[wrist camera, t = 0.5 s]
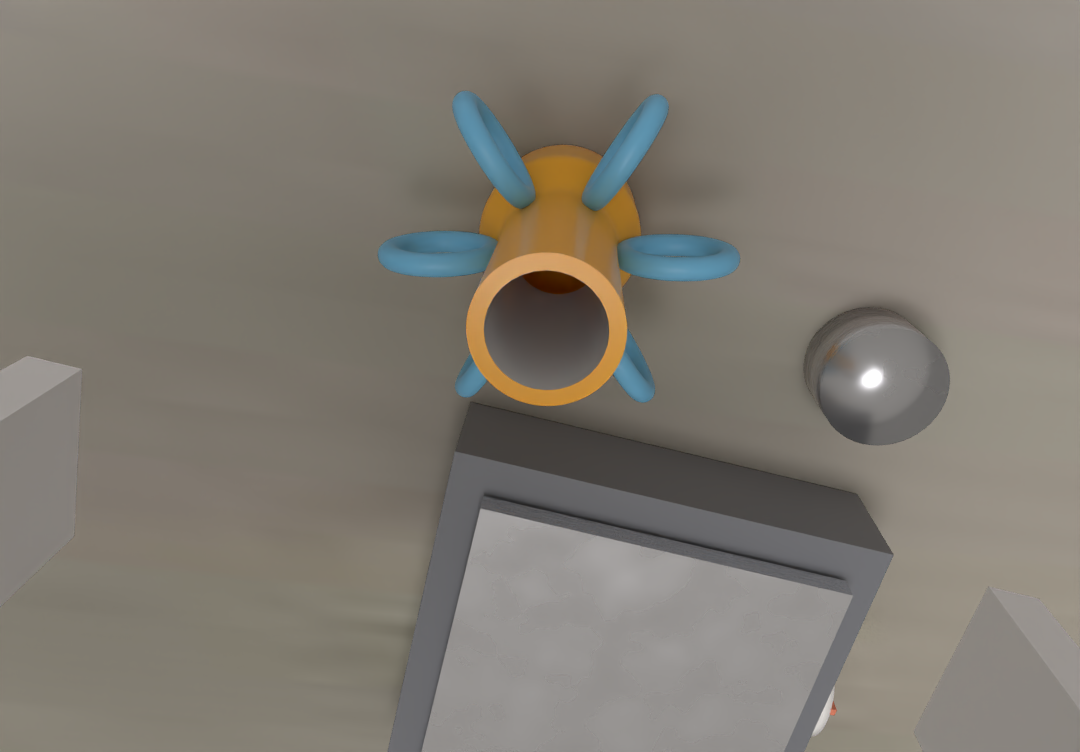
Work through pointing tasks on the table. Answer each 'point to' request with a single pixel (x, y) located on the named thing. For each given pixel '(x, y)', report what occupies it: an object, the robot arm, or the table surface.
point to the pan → (625, 642)
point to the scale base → (642, 506)
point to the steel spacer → (876, 376)
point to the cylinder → (556, 262)
